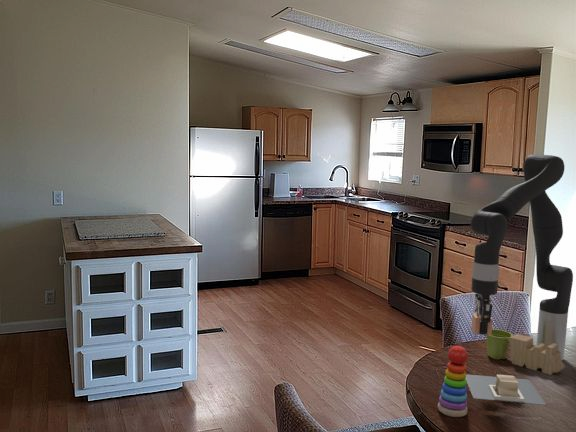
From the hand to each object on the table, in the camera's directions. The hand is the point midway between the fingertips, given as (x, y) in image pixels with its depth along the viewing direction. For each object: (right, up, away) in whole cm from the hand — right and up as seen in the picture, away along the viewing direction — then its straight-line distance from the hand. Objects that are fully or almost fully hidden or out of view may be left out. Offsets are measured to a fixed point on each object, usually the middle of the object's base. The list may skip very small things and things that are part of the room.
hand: (481, 331), depth 171 cm
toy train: (+23, -16, +15) cm, 32 cm away
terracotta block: (0, 0, 0) cm, 0 cm away
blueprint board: (+5, -18, -3) cm, 19 cm away
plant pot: (+15, -15, +27) cm, 34 cm away
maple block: (+5, -17, -8) cm, 19 cm away
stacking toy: (-14, -19, -17) cm, 29 cm away
